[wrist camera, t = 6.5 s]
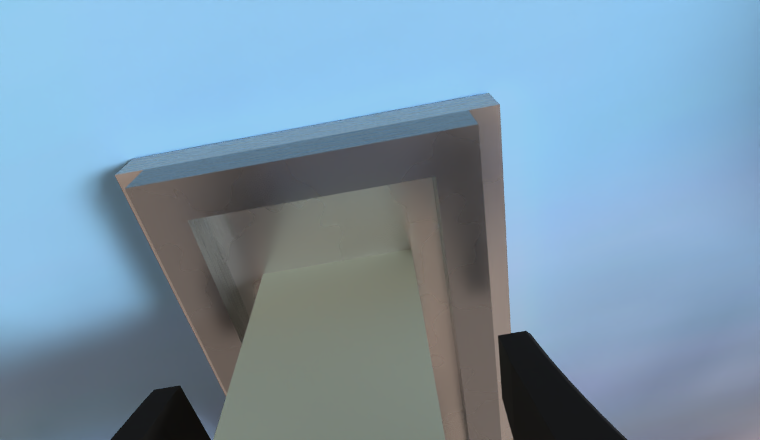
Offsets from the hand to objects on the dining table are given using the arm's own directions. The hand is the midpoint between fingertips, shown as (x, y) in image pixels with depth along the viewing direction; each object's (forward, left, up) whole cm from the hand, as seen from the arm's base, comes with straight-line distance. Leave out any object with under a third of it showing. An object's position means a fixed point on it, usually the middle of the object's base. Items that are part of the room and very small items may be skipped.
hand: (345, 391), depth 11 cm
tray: (-5, 0, -4) cm, 6 cm away
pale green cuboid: (0, 0, -3) cm, 3 cm away
